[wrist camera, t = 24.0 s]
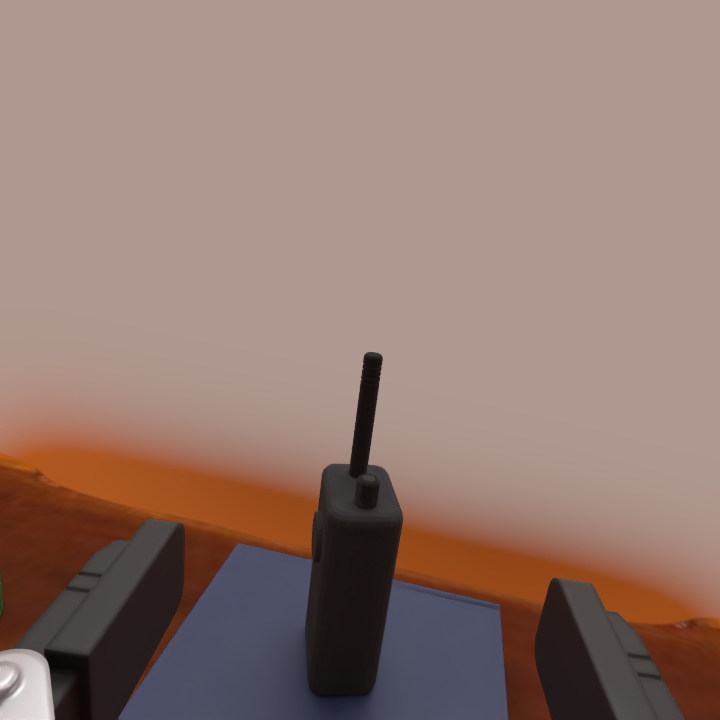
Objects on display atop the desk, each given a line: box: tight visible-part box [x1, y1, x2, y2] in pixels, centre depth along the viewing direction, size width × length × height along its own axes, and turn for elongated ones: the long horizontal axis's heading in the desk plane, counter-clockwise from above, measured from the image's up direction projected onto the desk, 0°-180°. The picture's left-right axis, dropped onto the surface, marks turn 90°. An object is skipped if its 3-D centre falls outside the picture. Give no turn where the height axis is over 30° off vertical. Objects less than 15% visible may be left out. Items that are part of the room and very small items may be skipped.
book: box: [118, 543, 508, 720], centre depth 27 cm, size 16×12×3 cm
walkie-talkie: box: [305, 352, 403, 695], centre depth 24 cm, size 5×3×15 cm
